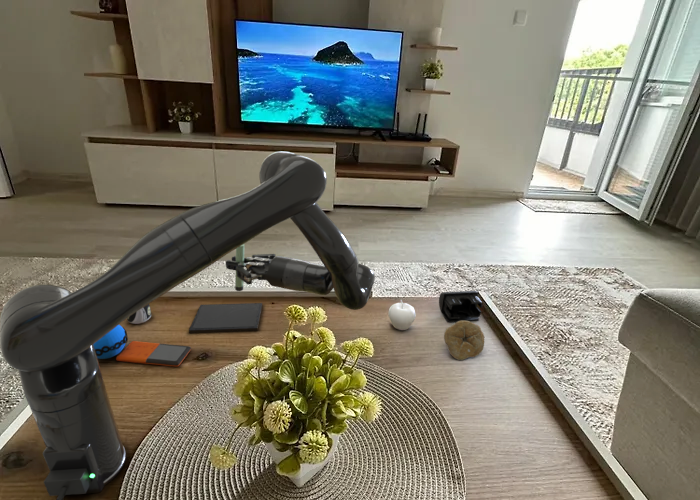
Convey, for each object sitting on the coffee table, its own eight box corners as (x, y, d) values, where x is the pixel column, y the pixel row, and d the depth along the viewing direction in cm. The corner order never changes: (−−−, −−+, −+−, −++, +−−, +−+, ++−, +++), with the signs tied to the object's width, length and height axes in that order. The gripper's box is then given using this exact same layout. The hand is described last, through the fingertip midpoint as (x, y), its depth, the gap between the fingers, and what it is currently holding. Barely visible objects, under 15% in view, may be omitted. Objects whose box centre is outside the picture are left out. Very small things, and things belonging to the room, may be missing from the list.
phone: (131, 339, 95) (191, 345, 94) (133, 344, 96) (192, 349, 94) (114, 357, 89) (177, 363, 88) (115, 361, 90) (178, 368, 88)
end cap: (470, 307, 115) (473, 286, 112) (480, 320, 109) (485, 299, 106) (437, 308, 114) (440, 288, 111) (446, 323, 107) (449, 301, 104)
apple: (393, 315, 110) (395, 290, 106) (417, 323, 107) (420, 297, 103) (383, 328, 104) (385, 302, 101) (408, 337, 101) (411, 310, 98)
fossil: (439, 328, 95) (474, 314, 97) (434, 332, 99) (468, 318, 101) (456, 364, 92) (492, 348, 94) (450, 366, 96) (485, 351, 98)
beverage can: (148, 324, 103) (139, 284, 98) (124, 326, 102) (114, 285, 97) (154, 312, 108) (146, 273, 103) (132, 314, 107) (122, 274, 102)
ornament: (81, 369, 87) (69, 331, 83) (97, 344, 95) (87, 309, 91) (123, 365, 89) (113, 328, 85) (136, 341, 96) (127, 307, 92)
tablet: (257, 331, 102) (257, 327, 101) (189, 333, 100) (188, 329, 100) (262, 305, 113) (262, 302, 112) (201, 307, 111) (200, 304, 111)
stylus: (242, 291, 102) (243, 246, 96) (234, 290, 102) (235, 245, 96) (243, 287, 104) (245, 243, 98) (235, 286, 103) (236, 242, 98)
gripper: (303, 249, 100) (243, 238, 105) (277, 272, 88) (211, 259, 93) (303, 275, 103) (245, 264, 108) (278, 301, 91) (214, 287, 96)
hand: (229, 262), depth 100 cm, fingers closed on stylus, 2 cm apart
